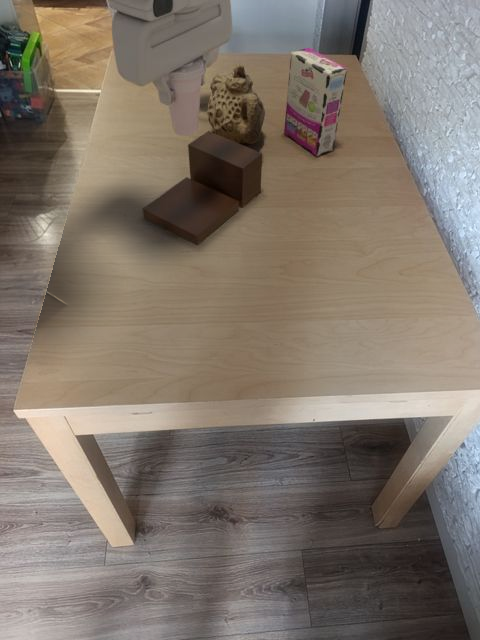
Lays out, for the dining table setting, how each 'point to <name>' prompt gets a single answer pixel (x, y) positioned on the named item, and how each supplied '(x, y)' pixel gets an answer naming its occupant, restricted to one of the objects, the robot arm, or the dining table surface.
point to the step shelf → (208, 188)
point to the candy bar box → (314, 100)
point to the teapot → (235, 107)
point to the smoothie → (186, 97)
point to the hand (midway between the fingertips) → (182, 93)
